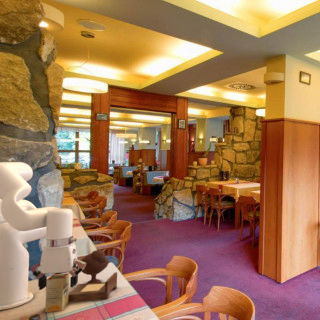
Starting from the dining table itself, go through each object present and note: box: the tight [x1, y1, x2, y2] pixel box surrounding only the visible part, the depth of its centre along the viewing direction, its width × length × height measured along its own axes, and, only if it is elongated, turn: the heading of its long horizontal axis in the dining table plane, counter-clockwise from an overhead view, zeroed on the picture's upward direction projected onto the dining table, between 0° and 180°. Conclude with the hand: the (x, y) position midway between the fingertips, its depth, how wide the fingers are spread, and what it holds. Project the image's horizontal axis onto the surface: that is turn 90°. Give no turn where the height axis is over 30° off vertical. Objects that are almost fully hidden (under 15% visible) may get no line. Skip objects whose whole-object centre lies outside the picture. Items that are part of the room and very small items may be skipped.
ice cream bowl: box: [78, 249, 110, 283], centre depth 129 cm, size 11×11×15 cm
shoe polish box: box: [45, 272, 70, 313], centre depth 107 cm, size 5×5×12 cm
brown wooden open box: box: [68, 271, 118, 303], centre depth 118 cm, size 14×10×7 cm
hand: (58, 287), depth 107 cm, fingers open, 9 cm apart
